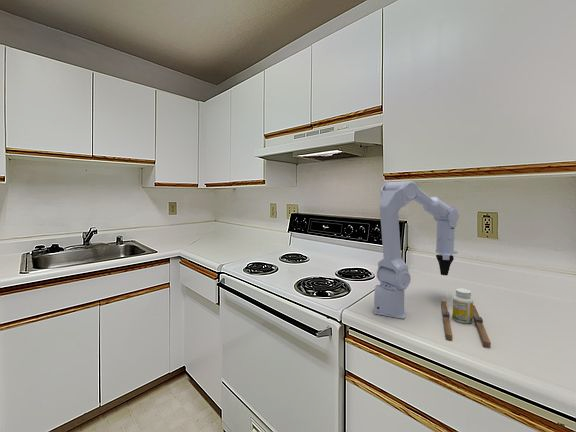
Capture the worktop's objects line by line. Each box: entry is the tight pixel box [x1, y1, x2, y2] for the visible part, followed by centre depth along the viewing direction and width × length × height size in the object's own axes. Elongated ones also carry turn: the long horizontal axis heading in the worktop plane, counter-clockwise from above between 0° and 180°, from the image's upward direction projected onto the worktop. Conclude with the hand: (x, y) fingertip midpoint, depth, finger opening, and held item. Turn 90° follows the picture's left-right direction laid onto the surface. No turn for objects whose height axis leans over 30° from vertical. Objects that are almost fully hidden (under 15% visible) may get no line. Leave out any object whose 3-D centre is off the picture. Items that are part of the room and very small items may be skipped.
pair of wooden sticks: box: [440, 300, 492, 349], centre depth 85 cm, size 10×26×2 cm, turn 154°
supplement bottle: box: [452, 287, 474, 325], centre depth 86 cm, size 5×5×10 cm
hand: (444, 274), depth 103 cm, fingers closed
